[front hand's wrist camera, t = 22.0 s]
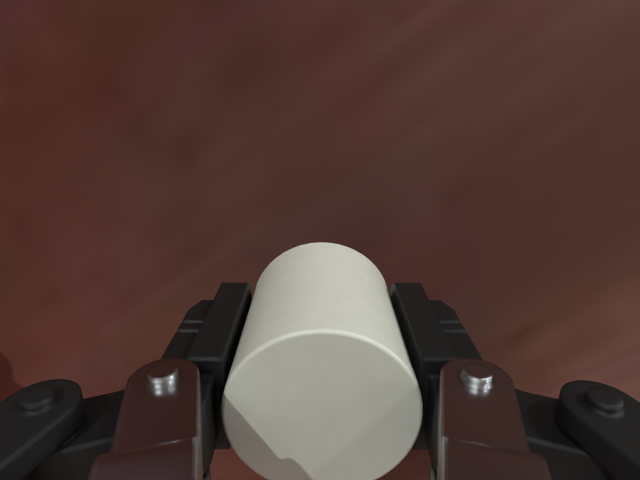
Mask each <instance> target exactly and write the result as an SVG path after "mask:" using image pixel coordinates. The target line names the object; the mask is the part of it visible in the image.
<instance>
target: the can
mask: <svg viewBox="0 0 640 480" xmlns="http://www.w3.org/2000/svg"><path fill="white" fill-rule="evenodd" d="M221 414H222V422H223V427H224V430H225V433H226V436H227V438H228V441H229V443H230V444H231V446H232V448H233V450H234V451H235V452H236V454H237V455H238V456H239V457H240V459H241V460H242V461H243V462H244V463H245V464H246V465H247V466H248V467H250V468H251V469H252V470H254V471H255V472H256V473H258V474H259V475H261V476H263V477H264V478H266V479H268V480H376V479H378V478H380V477H382V476H383V475H385V474H386V473H388V472H389V471H391V470H392V469H393V468H394V467H395V466H397V465H398V464H399V463H400V462H401V461H402V460H403V459H404V457H405V456H406V455H407V454H408V452H409V451H410V450H411V448H412V447H413V445H414V443H415V441H416V439H417V437H418V434H419V431H420V427H421V424H422V417H423V401H422V395H421V391H420V388H419V385H418V382H417V379H416V375H415V372H414V369H413V366H412V363H411V360H410V357H409V354H408V351H407V348H406V345H405V341H404V338H403V335H402V332H401V329H400V326H399V323H398V320H397V317H396V314H395V311H394V307H393V304H392V301H391V298H390V295H389V292H388V289H387V286H386V283H385V281H384V279H383V277H382V275H381V273H380V272H379V270H378V269H377V268H376V266H375V265H374V264H373V263H372V262H371V261H370V260H369V259H367V258H366V257H365V256H364V255H362V254H360V253H359V252H357V251H355V250H353V249H351V248H348V247H346V246H342V245H339V244H333V243H309V244H305V245H301V246H298V247H295V248H292V249H290V250H288V251H286V252H284V253H283V254H281V255H280V256H278V257H277V258H276V259H275V260H273V261H272V262H271V263H270V264H269V265H268V267H267V268H266V269H265V270H264V272H263V273H262V275H261V276H260V279H259V281H258V283H257V286H256V289H255V292H254V295H253V299H252V302H251V305H250V308H249V312H248V315H247V318H246V321H245V324H244V328H243V331H242V334H241V337H240V341H239V344H238V347H237V350H236V353H235V357H234V360H233V363H232V366H231V370H230V373H229V376H228V379H227V382H226V386H225V389H224V393H223V396H222V404H221Z"/></svg>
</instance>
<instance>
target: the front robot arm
mask: <svg viewBox="0 0 640 480" xmlns="http://www.w3.org/2000/svg"><path fill="white" fill-rule="evenodd" d="M391 301H392V304H393V307H394V311H395V314H396V317H397V320H398V323H399V326H400V329H401V332H402V335H403V338H404V341H405V345H406V348H407V351H408V354H409V357H410V360H411V363H412V366H413V369H414V372H415V375H416V379H417V382H418V385H419V388H420V391H421V395H422V401H423V417H422V424H421V427H420V431H419V434H418V437H417V439H416V441H415V443H414V445H413V449H414V450H429V454H430V457H431V463H430V472H429V480H640V403H639V402H638V401H636V400H635V399H633V398H632V397H630V396H629V395H627V394H626V393H624V392H622V391H620V390H618V389H616V388H613V387H611V386H608V385H605V384H602V383H598V382H593V381H584V380H579V381H572V382H569V383H566V384H565V385H564V386H563V387H562V388H561V391H560V395H559V399H555V398H551V397H546V396H541V395H536V394H531V393H527V392H524V391H521V390H518V389H515V387H514V384H513V381H512V379H511V378H510V376H509V375H508V374H507V373H506V372H505V371H504V370H502V369H501V368H499V367H498V366H496V365H494V364H492V363H489V362H487V361H483V360H482V358H481V356H480V355H479V353H478V351H477V349H476V348H475V346H474V344H473V343H472V341H471V339H470V337H469V336H468V334H467V333H466V332H465V329H464V327H463V325H462V324H461V323H460V320H459V318H458V317H457V315H456V313H455V311H454V310H453V309H451V308H450V307H449V306H447V305H446V304H444V303H443V302H442V301H429V299H428V297H427V295H426V293H425V291H424V289H423V287H422V285H421V284H420V283H393V284H392V288H391ZM251 302H252V298H251V287H250V283H222V284H221V286H220V288H219V290H218V292H217V294H216V296H215V298H214V300H202V301H200V302H199V303H198V304H196V305H195V306H193V307H192V308H191V309H189V310H188V312H187V314H186V316H185V317H184V319H183V322H182V323H181V324H180V326H179V328H178V330H177V332H176V333H175V335H174V337H173V338H172V340H171V342H170V344H169V345H168V347H167V349H166V351H165V352H164V354H163V356H162V358H161V359H160V360H157V361H153V362H151V363H148V364H146V365H144V366H142V367H141V368H139V369H138V370H136V371H135V372H134V373H133V374H132V375H131V376H130V378H129V379H128V381H127V384H126V387H125V389H124V390H121V391H118V392H114V393H109V394H105V395H100V396H95V397H90V398H86V399H83V395H82V391H81V388H80V386H79V385H78V384H77V383H75V382H73V381H71V380H66V379H55V380H47V381H43V382H39V383H36V384H33V385H30V386H28V387H25V388H23V389H21V390H19V391H18V392H16V393H14V394H13V395H11V396H10V397H8V398H7V399H5V400H4V401H2V402H1V403H0V480H211V472H210V464H211V461H212V457H213V454H214V450H215V449H230V445H231V444H230V443H229V441H228V438H227V436H226V433H225V430H224V427H223V422H222V414H221V404H222V396H223V393H224V389H225V386H226V382H227V379H228V376H229V373H230V370H231V366H232V363H233V360H234V357H235V353H236V350H237V347H238V344H239V341H240V337H241V334H242V331H243V328H244V324H245V321H246V318H247V315H248V312H249V308H250V305H251Z"/></svg>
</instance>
